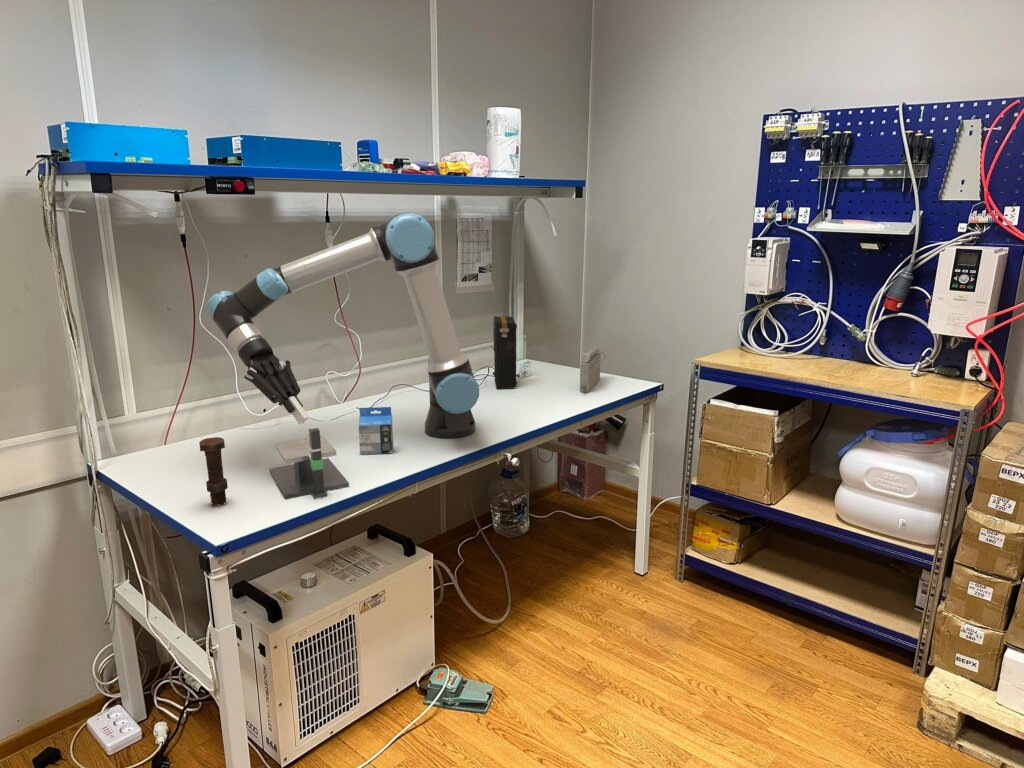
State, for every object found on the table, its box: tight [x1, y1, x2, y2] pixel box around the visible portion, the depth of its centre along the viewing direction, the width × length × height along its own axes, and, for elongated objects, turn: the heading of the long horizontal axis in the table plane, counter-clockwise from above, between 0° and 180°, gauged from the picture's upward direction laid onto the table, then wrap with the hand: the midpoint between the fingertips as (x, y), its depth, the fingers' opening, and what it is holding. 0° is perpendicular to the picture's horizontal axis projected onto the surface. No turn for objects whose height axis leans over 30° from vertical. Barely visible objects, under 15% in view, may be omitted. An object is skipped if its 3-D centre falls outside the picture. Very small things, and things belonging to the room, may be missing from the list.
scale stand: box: [268, 427, 350, 500], centre depth 167 cm, size 15×22×16 cm
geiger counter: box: [579, 345, 606, 394], centre depth 252 cm, size 14×6×25 cm
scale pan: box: [274, 436, 337, 465], centre depth 168 cm, size 12×16×7 cm
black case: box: [492, 315, 518, 390], centre depth 256 cm, size 16×9×25 cm, turn 4°
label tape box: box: [358, 406, 394, 455], centre depth 188 cm, size 9×4×12 cm, turn 95°
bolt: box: [199, 436, 229, 507], centre depth 155 cm, size 6×5×15 cm
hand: (304, 420), depth 167 cm, fingers closed
